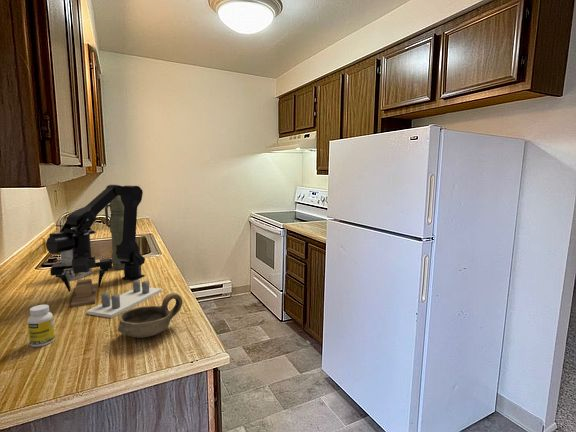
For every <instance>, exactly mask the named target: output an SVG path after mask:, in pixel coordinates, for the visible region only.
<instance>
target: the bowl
mask: <svg viewBox="0 0 576 432" xmlns="http://www.w3.org/2000/svg"><path fill="white" fill-rule="evenodd" d="M171 300H175V305H174V306H173V308H172V309H171V310H169V307H168V306H169V303H170V301H171ZM182 306H183V298H182V296H181V295H180V294H178V293H177V292H171V293H169V294H167V295H166V296H165V297H164V298H163V300H162V304H161V305H150V306H149V305H147V306H139V307H134V308H133V307H132V308H129V309H128V310H126V311H124V312H122V313H120V314H119V317H118V320H119V326H118V328H117V331H118V332H119V333H121V334H123V335H125V336H128V337H132V338H147V337H152V336H156V335H158V334H160V333H162V332H163V331H165V330H166V329H167V328H168V327H169V325H170V322H171V321H172V319H173V318H174V317H175V316H176V315H177V314H178V313H180V312H179V311H180V310H181V309H182Z"/></svg>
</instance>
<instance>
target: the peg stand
mask: <svg viewBox="0 0 576 432" xmlns="http://www.w3.org/2000/svg"><path fill="white" fill-rule="evenodd" d="M132 288H133V289H131V290H128V291H126V292H124V293H121V294H113V295H111V293H110V292H104V293H102V294H101V303H100V304H97V305H95V306H94V307H92V308H90V309H88V310H85V313H86V315H92V316H97V317H103V318H108V319H112V318H114V317H117V316H118V315H121V314H122V313H123V312H125V311H128V310H130V309H132V308H133V307H135V306H137V305H139V304H141V303H144V301H147V300H148V299H150V298H152V297H154V296H156V295H157V294H160V293H161V292H162V291H163V289H162V288H160V287H159V288H158V287H150V281H148V280H143V281H141V280H140V279H136V280H132Z"/></svg>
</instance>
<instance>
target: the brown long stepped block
mask: <svg viewBox="0 0 576 432" xmlns="http://www.w3.org/2000/svg"><path fill="white" fill-rule="evenodd" d="M97 290H98V282H97V283H96V282H95V283H93V279H92V278H84V279H77V280H76V284H75V289H74V292H73V296H72V299H71V302H70V308H75V307H82V306H88V305H95V304H96V298H97Z"/></svg>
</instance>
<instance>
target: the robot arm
mask: <svg viewBox="0 0 576 432" xmlns="http://www.w3.org/2000/svg"><path fill="white" fill-rule="evenodd" d="M118 195H119V196H121V201H122V203H123V205H124V221H123V240H122V242H121V244H120V245H117V246H116V249H117V251H116V254H117V258H118V259H119V260H120V263H121V264H125V265H124V270H123V275H124V276H123V277H121V278H122V280H129V281H134V280H139V279H141V278H144V277H145V274H142V265H143V264H145V260H146V258H145V257H144V256H143V255H142V254H141V253H140V247H139V245H138V243H137V241H136V238H137V237H136V236H137V221H138V220H137V218H138V207H139V205H140V203H142V199H143V189H142V188H141V187H140V185H119V184H108V185H106V187H105V189H104V190H102V191H101V192H100V193H99V194H98V195H97V196H96V197H95V198H93V199H92V200H91V201H89V203H88V204H87V205H85V206H82V207H81V208H78V209H76V210H74V211H73V212H70V213H69V214H68V215H67V217H66V221H65V223H64V224H63V225H62V227H61V229H60V230H59V232H52V233H49V236H48V238H47V240H46V243H45V247H46V250H47V252H48V253H50V254H51V255H55V254H59V253H60V254H61V252H65V251H69V250H72V255H73V259H72V265H67V266H66V264H65V263H62V262H60V263H54V264H53V265H52V266H50V268H49V269H50V270H49V271H50V272H49V273H50V276H51V277H52V276H53V277H54V276H55V277H56V278H60V280H61V281H62V282H63V284H64V285H65V287H66V289H67V291H68V292H71V282H70V280H69V277H68V272H67V271H69V270H73V273H75V274H77V273H81V272H89V271H90V268H91V269H94V268H99V270H98V271H99V272H98V282H97V288H101V284H102V281H103V277H104V275H105V273H106V272H109V270H111V269H113V264H112V258H109V257H108V258H102V259H101V258H100V259H99V261H97V262H96V257H95V256H92V247H91V235H93V234H96V231H94V230H93V229H92V228H91V227H92V226H93V224H94V223H95V222H96V221H97V216H98V214H99V213H100V212H102V211H103V210H105V207H106V206H107V205H109V204H110V202H111V201H112V200H113V199H114V198H115V197H116V196H118Z"/></svg>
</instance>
